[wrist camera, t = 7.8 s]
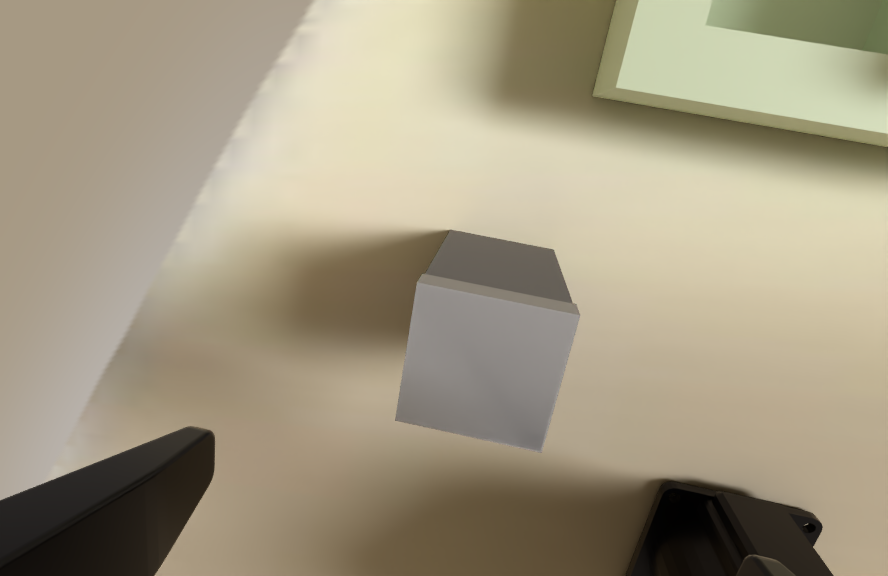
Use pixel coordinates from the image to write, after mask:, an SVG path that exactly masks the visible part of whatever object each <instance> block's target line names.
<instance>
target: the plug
mask: <svg viewBox="0 0 888 576" xmlns="http://www.w3.org/2000/svg"><path fill="white" fill-rule="evenodd" d="M579 318H580V314H579V311H578V308H577V306H576V304H573V303H572V300H571V297H570V294H569V291H568V289H567V286H566V283H565V280H564V277H563V275H562V272H561V269H560V266H559V264H558V261H557V258H556V255H555V252H554V250H552V249H547V248H542V247H537V246H532V245H527V244H521V243H516V242H511V241H506V240H501V239H496V238H490V237H485V236H480V235H475V234H470V233H465V232H459V231H454V230H450V231H449V233H448V235H447V236H446V238H445V240H444V242H443V243H442V245H441V247H440V248H439V250H438V252H437V254H436V255H435V257H434V259H433V261H432V262H431V264H430V266H429V268H428V269H427V271H426V273H425V274H423V273H422V275H421V276H420V278H419V280H418V282H417V285H416V292H415V298H414V304H413V311H412V317H411V323H410V330H409V336H408V342H407V349H406V355H405V361H404V368H403V374H402V380H401V386H400V393H399V399H398V405H397V412H396V418H395V421H400V422H404V423H409V424H413V425H418V426H423V427H427V428H432V429H436V430H441V431H445V432H450V433H454V434H459V435H463V436H468V437H472V438H477V439H481V440H486V441H490V442H495V443H499V444H504V445H508V446H513V447H517V448H522V449H526V450H531V451H536V452H540V453H542V450H543V446H544V442H545V439H546V435H547V432H548V428H549V425H550V421H551V417H552V414H553V410H554V407H555V403H556V400H557V396H558V392H559V389H560V385H561V382H562V378H563V375H564V371H565V368H566V364H567V360H568V357H569V353H570V350H571V346H572V343H573V339H574V335H575V332H576V328H577V325H578V321H579Z"/></svg>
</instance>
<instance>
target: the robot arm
mask: <svg viewBox="0 0 888 576" xmlns="http://www.w3.org/2000/svg"><path fill="white" fill-rule="evenodd" d="M214 466H215V436H214V433H213V432H212V431H210V430H207V429H203V428H198V427H193V426H189V427H186V428H183V429H180V430H178V431H175V432H173V433H170V434H168V435H165V436H163V437H160V438H158V439H155V440H152V441H150V442H147V443H145V444H142V445H140V446H137V447H135V448H132V449H130V450H127V451H125V452H122V453H119V454H117V455H114V456H112V457H109V458H107V459H104V460H102V461H99V462H97V463H94V464H92V465H89V466H86V467H84V468H81V469H79V470H76V471H74V472H71V473H69V474H66V475H64V476H61V477H59V478H56V479H54V480H51V481H48V482H46V483H43V484H41V485H38V486H36V487H33V488H31V489H28V490H26V491H23V492H20V493H18V494H15V495H13V496H10V497H8V498H5V499H3V500H0V576H154V575H155V574H156V572H157V571H158V569H159V568H160V566H161V565H162V563H163V562H164V560H165V558H166V557H167V555H168V554H169V552H170V550H171V548H172V547H173V545H174V543H175V542H176V540H177V538H178V537H179V535H180V533H181V532H182V530H183V528H184V527H185V525H186V523H187V522H188V520H189V518H190V517H191V515H192V513H193V511H194V510H195V508H196V506H197V505H198V503H199V501H200V500H201V498H202V496H203V495H204V493H205V491H206V490H207V488H208V486H209V484H210V483H211V480H212V478H213V474H214ZM672 493H677V494H676V495H674V496H669V495H670V494H672ZM807 523H809V524H808V525H805V524H807ZM804 525H805V526H804ZM822 528H823V527H822V524H821V522H820V521H819V520H818V518H817V517H816V516H815V515H814V514H813V513H811V512H808V511H804V510H799V509H795V508H790V507H786V506H783V505H781V504H777V503H773V502H768V501H764V500H759V499H755V498H750V497H746V496H741V495H737V494H732V493H728V492H718V491H713V490H709V489H704V488H700V487H695V486H691V485H686V484H682V483H677V482H667V483H664V484H663V485H662V486H661V487H660V488H659V491H658V493H657V496H656V499H655V501H654V504H653V506H652V509H651V512H650V514H649V517H648V519H647V522H646V524H645V527H644V530H643V532H642V535H641V537H640V540H639V543H638V545H637V548H636V550H635V553H634V555H633V558H632V561H631V563H630V566H629V568H628V571H627V574H626V576H833V574H832V573H831V571H830V570H829V569H828V567H827V566H826V565H825V563H824V562H823V560H822V559H821V558H820V556H819V555H818V553H817V552H816V551H815V549H814V548H813V546H814V544H815V542H816V540H817V539H818V537H819V535H820V533H821V531H822Z"/></svg>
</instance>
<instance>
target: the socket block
mask: <svg viewBox="0 0 888 576" xmlns="http://www.w3.org/2000/svg"><path fill="white" fill-rule="evenodd" d="M592 96H593V97H599V98H605V99H611V100H616V101H622V102H628V103H634V104H640V105H645V106H651V107H657V108H663V109H669V110H674V111H680V112H686V113H692V114H698V115H704V116H709V117H715V118H721V119H727V120H733V121H738V122H744V123H750V124H756V125H762V126H767V127H773V128H779V129H785V130H791V131H796V132H802V133H808V134H814V135H820V136H825V137H831V138H837V139H843V140H849V141H854V142H860V143H866V144H872V145H878V146H883V147H888V0H616V2H615V6H614V10H613V15H612V19H611V23H610V27H609V31H608V35H607V39H606V43H605V47H604V51H603V55H602V59H601V63H600V67H599V71H598V75H597V79H596V83H595V87H594V91H593V95H592Z"/></svg>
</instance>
